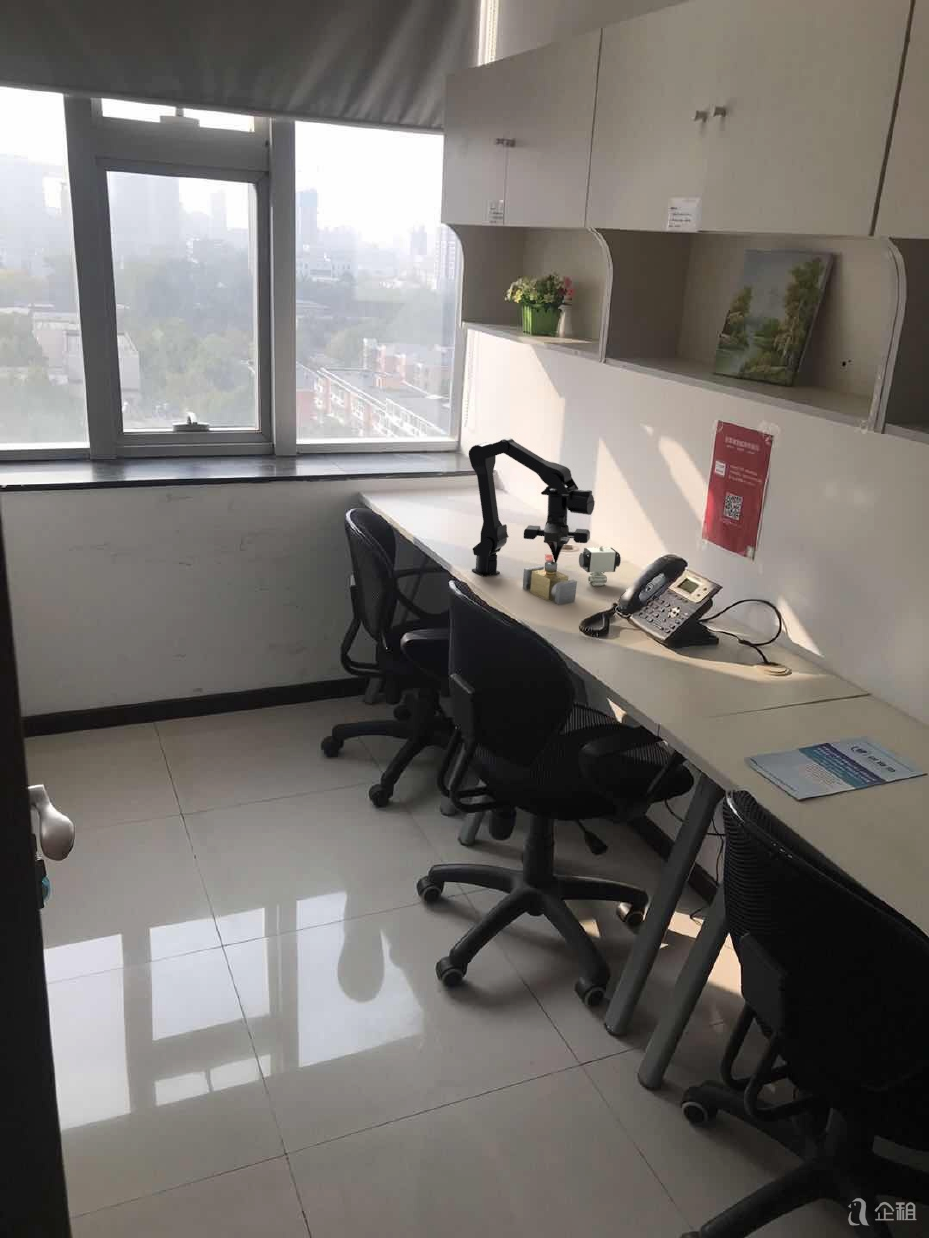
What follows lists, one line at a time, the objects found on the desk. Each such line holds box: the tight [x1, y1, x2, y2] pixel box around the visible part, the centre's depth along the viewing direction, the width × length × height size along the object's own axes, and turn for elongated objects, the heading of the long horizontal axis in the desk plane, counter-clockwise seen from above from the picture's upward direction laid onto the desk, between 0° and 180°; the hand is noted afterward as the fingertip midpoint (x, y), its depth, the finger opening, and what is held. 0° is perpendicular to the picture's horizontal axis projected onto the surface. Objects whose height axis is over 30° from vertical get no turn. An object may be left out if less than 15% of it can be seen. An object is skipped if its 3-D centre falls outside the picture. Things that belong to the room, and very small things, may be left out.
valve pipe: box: [522, 565, 578, 606], centre depth 283 cm, size 16×7×7 cm, turn 36°
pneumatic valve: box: [578, 545, 622, 587], centre depth 294 cm, size 6×12×12 cm, turn 104°
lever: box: [544, 553, 558, 572], centre depth 285 cm, size 12×4×2 cm, turn 179°
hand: (555, 562), depth 289 cm, fingers closed
